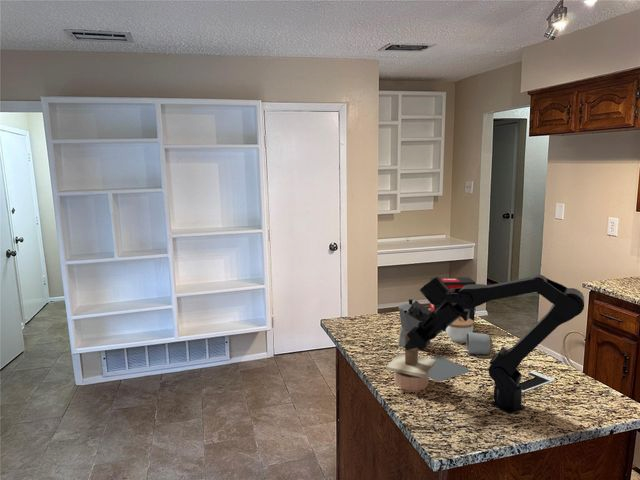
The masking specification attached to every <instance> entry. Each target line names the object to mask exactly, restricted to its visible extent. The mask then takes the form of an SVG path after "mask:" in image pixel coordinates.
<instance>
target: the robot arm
mask: <svg viewBox="0 0 640 480" xmlns="http://www.w3.org/2000/svg"><path fill="white" fill-rule="evenodd" d="M433 278H434V279H433V280H431V279H430V281H429V282H427V283H426V284H424V285H423V286H422V287H421V288H420V289H419V290H418V291H419V292H420V293H421V294H422V295H423V296H424V297H425V298H426V300H427V301H428V302H429V304H430V303H431V304H432V305H433V304H434V305H435V304H437V305H439V304H440V303H441V302H442V301H443V300H445V299H446V302H445V303H444V304H443V305H441V306H440V307H439V308H438V309H435V310H434V311H431V310H430V308H428V307H426V306H425V305H424V304H421V303H420V302H419V301H418V302H415V301H414V302H415V303H413V302H412V303H413V304H412V305H411V307H410V309H408V315H409V316H412V317H413V318H415V319H417V320H419V321H421V322H419V324H418V327H414V328H413V329H412V330H410V331H409V332H408V333H407V336H408V337H409V338H410V340H409V341H408V342H407V344H406V345H405V347H403V348H404V350H405V349H406V350H408V349H413V348H418V351H420V352H422V351H423V350H425V349H426V348H428V346H429V345H430V344H431V343H430V342H431V341H432V340H434V339H435V338H437V336H438V335H440V333H442V332H443V331H446V328H447V327H448V326H449V325H451V324H452V323H453V322H454V321H456V320H457V319H458V318H459V317H462V318H463V320H464V321H467V320H468V319H469V317H470V316H469V312H470V310H467V309H471V308H474V307H475V308H476V307H479V306H481V305H484V304H486V303H489V302H491V301H495V300H500V299H507V298H510V297H517V296H522V295H523V296H524V295H527V294H534V293H536V294H539V295H540V296H542V297H543V298H544V299H546V300H547V301H548V302H549V303H551V304H552V305H551V307H550V308H549V310H547V311H548V312H547V313H545V315H544V316H543V317H541V319H540V320H539V321H537V322H536V324H534V325H533V326H532V327H531V329H529V331H527V332H526V333H525V334H524V335H523V336H522V337H521V338H520V339H519V340H518V341H517V342H516V343H515V344H514V345H513V346H511V347H510V348H508V349H506V348H505V347H504V346H501V348H500V350H498V352H496V353H494V354H493V355H492V357H491V359H490V361H489V364H490V365H489V367H488V375H489V377H490V379H491V380H492V381H493V382H494V384H495V385H494V386H493V401H490V405H491V406H493V407H495V408H497V409H499V410H501V411H503V412H505V413H507V414H509V415H512V414H513V413H516V412H519V411H521V410H524V409H525V408H526V407H525V405H524V404H522V398H523V397H522V394H523V393H522V388H521V387H520V386H519V383H521V381H522V380H521V379H522V376H523V374H522V373H521V372H520V371H519V370H518V367H519V366H520V364H521V362H522V361H523V360H524V359H525V358H526V357H527V356H528V355H529V354H531V353H532V351H534V350H535V349H536V348H537V347H538V346H539V345H540V344H541V343H542V342H543V341H544V340H545V339H546V338H548V336H550V335H551V334H552V333H553V332H554V331H555V330H557V328H558V327H559V326H561V325H563V324H565V323H567V322H569V321H571V320H573V319H574V318H576V317H577V316H579V315H581V314H582V312H583V311H584V310H585V309H584V308H585V296H584V294H583V292H582V291H580V290H579V289H578V288H572V287H567V286H565V285H564V284H561V283H559V282H557V281H554V280H552V279H550V278H548V277H546V276H544V275H542V274H536V275H533V276H529V277H524V278H519V279H514V280H510V281H509V280H508V281H503V282H499V283H494V284H483V283H481V284H480V283H475V284H469V285H466V286H464V287H463V288H451V289H450V290H449V289H448V288H447V286H446V285H445V284H444V283H443V282H442V281H441V279H440V278H441V277H439V276H435V277H433Z"/></svg>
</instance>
